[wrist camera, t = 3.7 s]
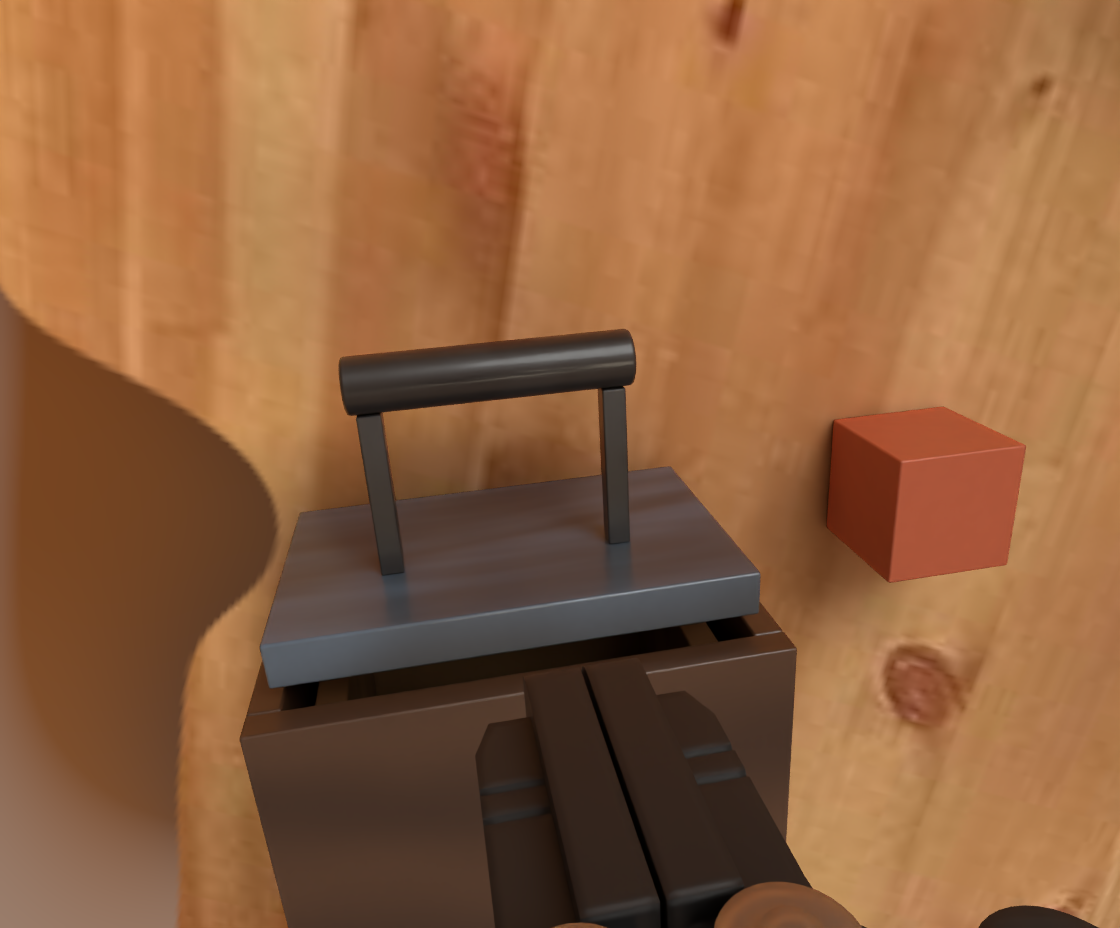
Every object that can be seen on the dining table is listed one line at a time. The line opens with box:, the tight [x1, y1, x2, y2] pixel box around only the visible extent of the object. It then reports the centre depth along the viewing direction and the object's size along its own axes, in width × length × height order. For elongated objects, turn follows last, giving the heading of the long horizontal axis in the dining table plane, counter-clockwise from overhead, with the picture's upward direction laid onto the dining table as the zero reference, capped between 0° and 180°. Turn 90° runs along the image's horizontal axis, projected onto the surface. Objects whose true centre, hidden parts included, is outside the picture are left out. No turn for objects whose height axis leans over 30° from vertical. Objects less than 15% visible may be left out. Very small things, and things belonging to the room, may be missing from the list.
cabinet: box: [240, 602, 797, 928], centre depth 26 cm, size 16×13×9 cm
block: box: [827, 407, 1026, 583], centre depth 27 cm, size 4×4×4 cm
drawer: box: [260, 329, 760, 706], centre depth 24 cm, size 20×12×7 cm, turn 3°
